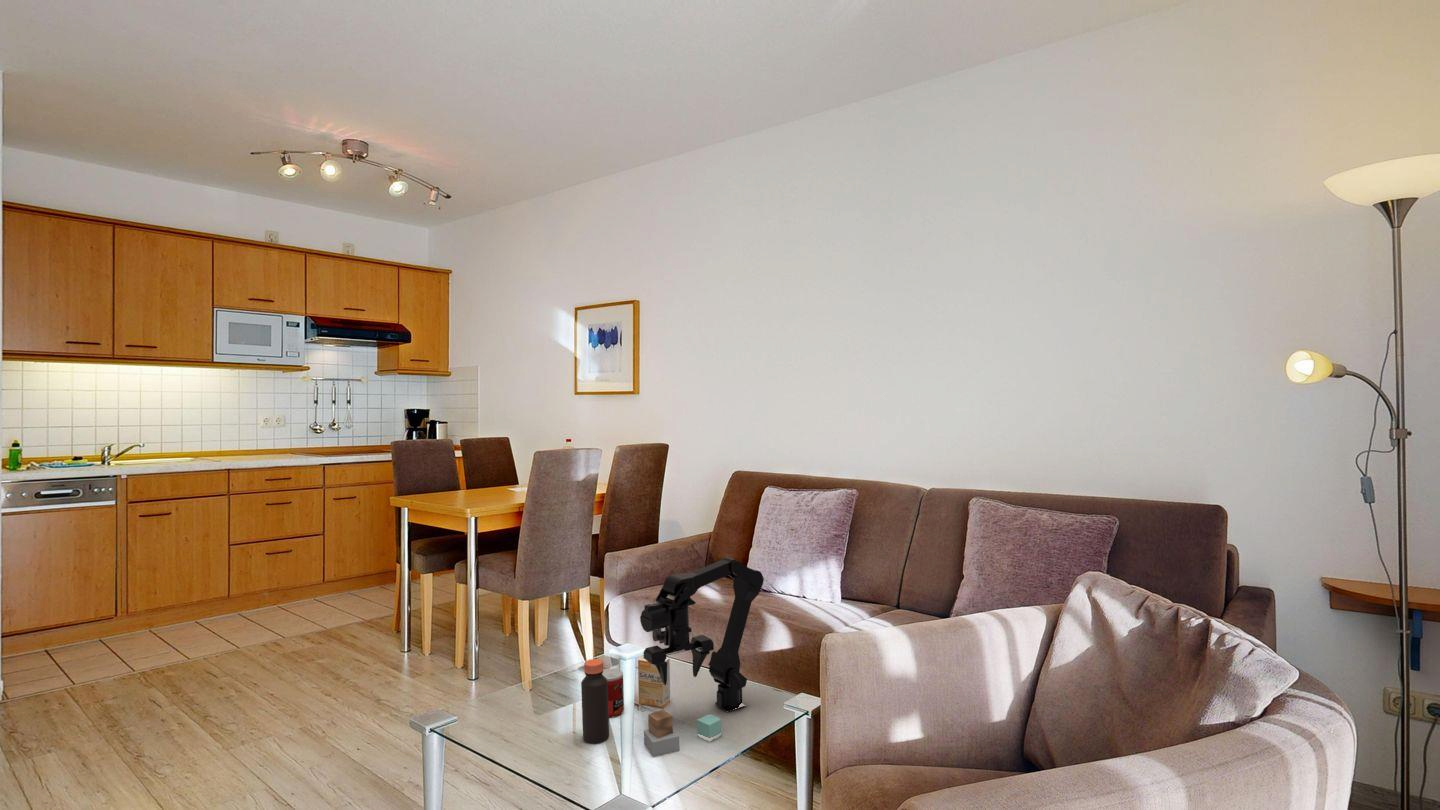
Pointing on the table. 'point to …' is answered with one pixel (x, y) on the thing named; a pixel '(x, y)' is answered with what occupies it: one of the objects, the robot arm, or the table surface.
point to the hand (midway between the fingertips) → (679, 680)
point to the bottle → (595, 703)
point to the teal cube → (709, 726)
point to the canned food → (614, 691)
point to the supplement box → (652, 684)
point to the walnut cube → (660, 723)
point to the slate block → (661, 743)
